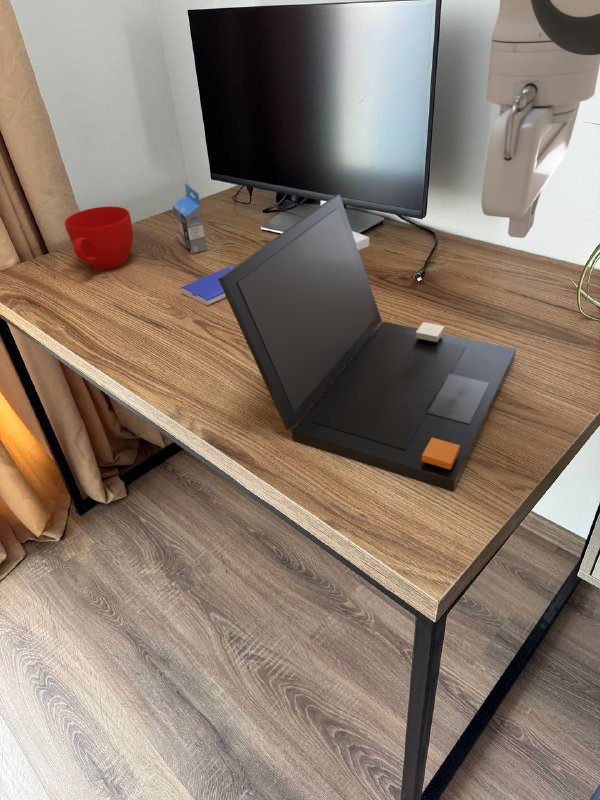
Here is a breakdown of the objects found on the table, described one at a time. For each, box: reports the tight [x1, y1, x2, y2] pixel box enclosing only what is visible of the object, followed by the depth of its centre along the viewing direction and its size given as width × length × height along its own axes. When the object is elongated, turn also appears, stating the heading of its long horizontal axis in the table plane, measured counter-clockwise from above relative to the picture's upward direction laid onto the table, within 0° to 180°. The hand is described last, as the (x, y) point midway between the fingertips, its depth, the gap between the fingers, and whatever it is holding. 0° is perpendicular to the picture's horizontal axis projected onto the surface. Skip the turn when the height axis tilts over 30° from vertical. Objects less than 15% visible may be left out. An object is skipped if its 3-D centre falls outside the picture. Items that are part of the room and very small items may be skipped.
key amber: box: [422, 438, 460, 470], centre depth 68 cm, size 3×3×1 cm
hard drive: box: [180, 264, 236, 306], centre depth 112 cm, size 2×8×12 cm
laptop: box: [291, 321, 517, 492], centre depth 81 cm, size 21×30×2 cm
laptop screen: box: [218, 193, 383, 431], centre depth 80 cm, size 21×30×1 cm
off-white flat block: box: [415, 321, 445, 342], centre depth 89 cm, size 3×3×1 cm
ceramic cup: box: [64, 205, 134, 270], centre depth 121 cm, size 13×17×10 cm
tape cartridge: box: [172, 183, 208, 255], centre depth 126 cm, size 9×4×12 cm, turn 28°
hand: (520, 232), depth 58 cm, fingers closed
